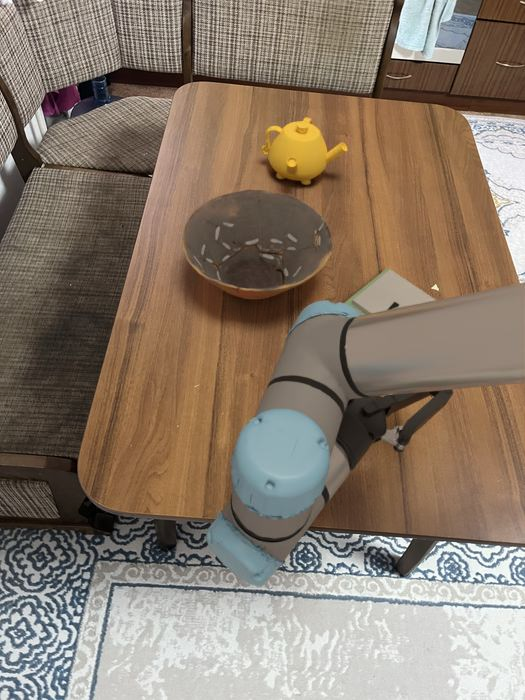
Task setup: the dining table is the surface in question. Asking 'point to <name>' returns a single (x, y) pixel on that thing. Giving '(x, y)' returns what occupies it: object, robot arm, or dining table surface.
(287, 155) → the teapot
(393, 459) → the dining table surface
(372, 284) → the scale
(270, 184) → the dining table surface
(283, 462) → the robot arm
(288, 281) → the bowl
